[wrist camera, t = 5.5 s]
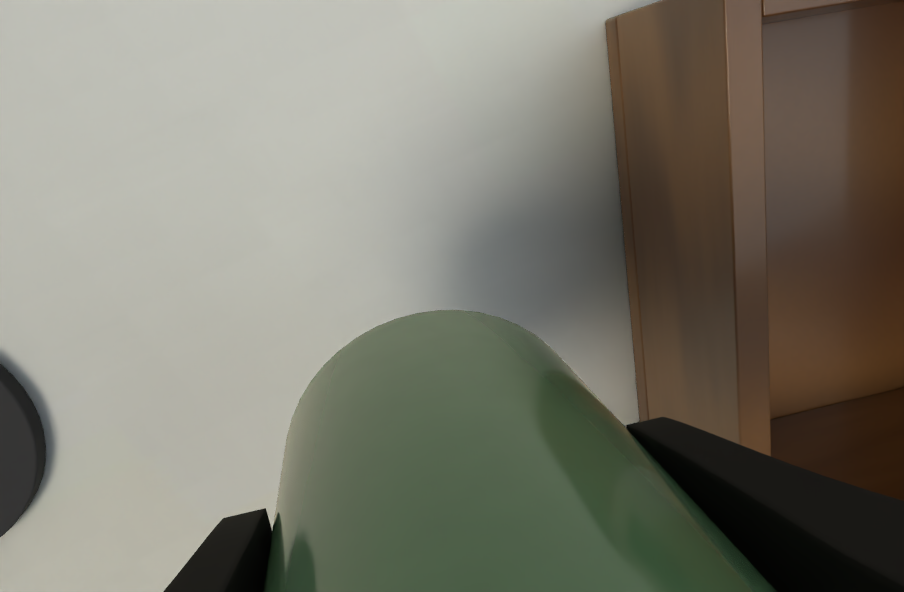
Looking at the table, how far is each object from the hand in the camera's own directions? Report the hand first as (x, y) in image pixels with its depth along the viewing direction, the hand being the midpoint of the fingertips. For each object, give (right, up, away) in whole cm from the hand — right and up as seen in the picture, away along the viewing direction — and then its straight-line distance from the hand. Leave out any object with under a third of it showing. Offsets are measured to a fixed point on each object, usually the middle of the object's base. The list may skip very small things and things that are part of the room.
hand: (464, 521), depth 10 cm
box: (+11, +6, +11) cm, 16 cm away
